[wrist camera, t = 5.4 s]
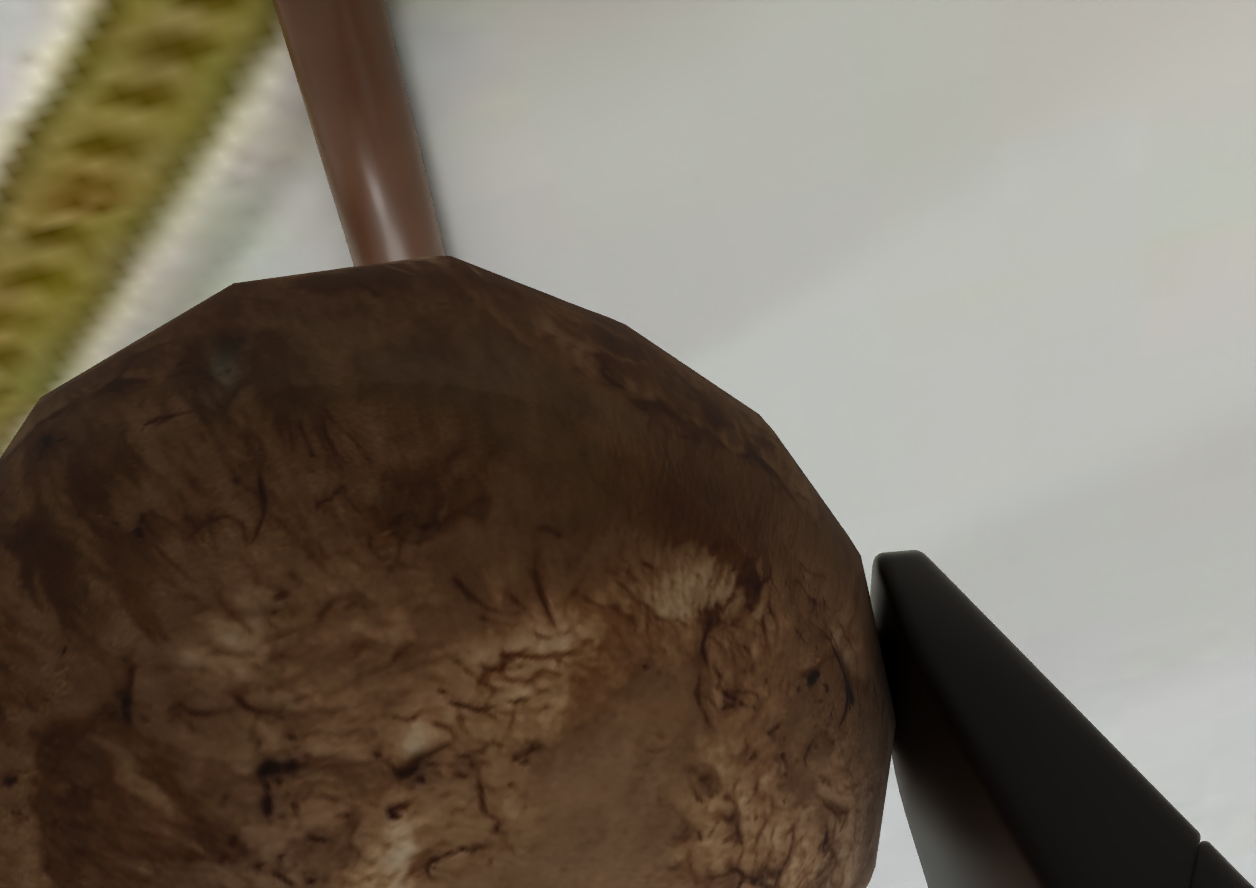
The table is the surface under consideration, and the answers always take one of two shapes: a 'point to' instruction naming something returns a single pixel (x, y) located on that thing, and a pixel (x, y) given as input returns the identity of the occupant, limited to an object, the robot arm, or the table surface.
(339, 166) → the wooden spoon
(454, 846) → the brown round ball
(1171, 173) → the table surface
